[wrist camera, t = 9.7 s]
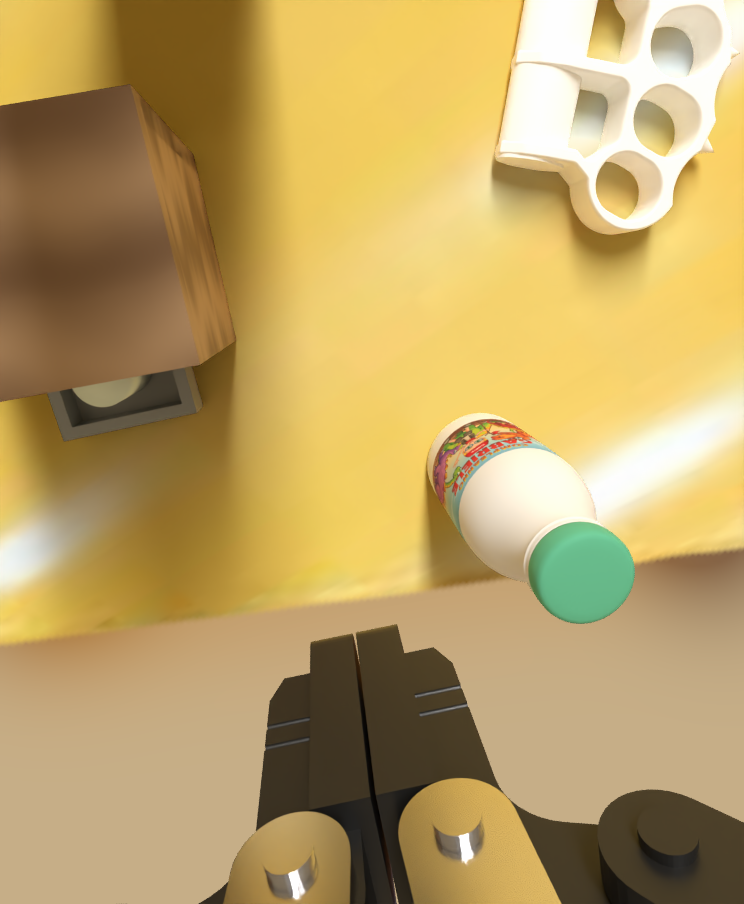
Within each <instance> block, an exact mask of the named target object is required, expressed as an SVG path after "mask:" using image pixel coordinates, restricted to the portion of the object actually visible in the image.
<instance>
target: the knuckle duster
mask: <svg viewBox="0 0 744 904" xmlns="http://www.w3.org/2000/svg"><path fill="white" fill-rule="evenodd" d="M597 3H598V0H524V6H523V11H522V17H521V22H520V28H519V33H518V39H517V44H516V49H515V55H514V57H513V58H512V62H511V67H510V68H511V69H512V71H511V77H510V82H509V88H508V93H507V99H506V104H505V110H504V115H503V121H502V126H501V132H500V137H499V143H498V145H497V146H496V150H495V156H496V161H498V162H501V163H503V164H506V165H510V166H515V167H521V168H526V169H531V170H537V171H550V172H558V173H559V174H560V175H561V176H562V178H563V179H564V180H565V181H566V182H567V184H568V185H569V187H570V199H571V203H572V206H573V209H574V211H575V213H576V215H577V216H578V218H579V219H580V221H581V222H582V223H583V224H584V225H585V226H587V227H588V228H590V229H591V230H593V231H595V232H598V233H601V234H607V235H614V234H621V233H626V232H632V231H638V230H642V229H645V228H647V227H649V226H651V225H653V224H655V223H656V222H658V221H659V220H660V219H661V218H663V217H664V216H665V215H666V213H667V212H668V211H669V210H670V209H671V207H672V206H673V191H674V186H675V183H676V180H677V178H678V176H679V174H680V172H681V170H682V169H683V167H684V166H685V165H686V163H687V162H688V161H689V160H690V159H691V158H692V157H694V156H695V155H696V154H698V153H713V152H714V151H713V149H712V147H711V145H710V143H709V140H708V136H709V134H710V132H711V130H712V128H713V126H714V124H715V122H716V119H715V112H714V102H715V95H716V90H717V87H718V84H719V82H720V79H721V77H722V76H723V74H724V72H725V71H726V69H727V68H728V67H729V66H730V64H731V59H732V58H733V57H735V56H736V55H738V54H740V53H739V52H738V51H736V50H735V49H733V48H732V47H731V40H732V27H731V26H730V24H729V22H728V19H727V16H726V13H725V8H724V0H614V3H615V6H616V8H617V10H618V12H619V14H620V15H621V16H622V18H623V19H624V21H625V31H624V36H623V41H622V45H621V50H620V54H619V59H618V64H617V63H612V62H608V61H603V60H598V59H593V58H588V57H586V56H587V51H588V46H589V41H590V37H591V32H592V27H593V22H594V17H595V12H596V7H597ZM662 27H675V28H678V29H680V30H682V31H683V32H684V33H685V34H686V35H687V36H688V38H689V39H690V41H691V44H692V47H693V64H692V67H691V70H690V72H689V74H688V76H687V77H683V78H671V77H668V76H666V75H664V74H663V73H661V72H660V71H659V70H658V68H657V67H656V65H655V64H654V61H653V59H652V55H651V38H652V35H653V32H654V29H655V28H662ZM580 89H582V90H587V91H592V92H597V93H601V94H603V95H604V96H605V98H606V99H607V102H608V109H607V114H606V119H605V123H604V128H603V132H602V137H601V142H600V146H599V149H598V150H597V151H596V152H595V153H594V154H592V155H590V156H588V157H587V158H583V157H582V156H581V154H580V153H579V152H578V151H577V150H576V149H571V148H568V143H569V138H570V133H571V128H572V124H573V119H574V114H575V109H576V104H577V99H578V95H579V90H580ZM640 100H648V101H650V102H653V103H654V104H656V105H657V106H659V107H661V108H662V109H664V110H665V111H666V112H667V113H668V114H669V115H670V117H671V118H672V121H673V124H674V129H675V136H674V141H673V145H672V147H671V149H670V151H669V152H668V154H667V155H666V156H665V157H662V156H659V155H657V154H655V153H654V152H652V151H650V150H649V149H647V148H646V147H644V146H643V145H642V144H641V143H640V142H639V140H638V139H637V137H636V134H635V131H634V125H633V119H634V113H635V109H636V107H637V105H638V103H639V101H640ZM605 162H613V163H615V164H617V165H619V166H621V167H622V168H624V169H626V170H628V171H629V172H630V173H631V174H632V175H633V176H634V177H635V179H636V181H637V184H638V188H639V198H638V202H637V205H636V208H635V209H634V211H633V212H632V214H631V215H630V216H629V217H628V218H627V219H625V220H624V219H621V218H619V217H617V216H615V215H613V214H612V213H610V212H608V211H607V210H605V209H604V208H603V207H602V205H601V204H600V202H599V200H598V198H597V195H596V178H597V175H598V172H599V170H600V168H601V167H602V165H603V164H604V163H605Z"/></svg>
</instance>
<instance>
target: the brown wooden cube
mask: <svg viewBox="0 0 744 904" xmlns="http://www.w3.org/2000/svg"><path fill="white" fill-rule="evenodd" d="M235 341H236V337H235V333H234V329H233V324H232V320H231V316H230V311H229V307H228V303H227V298H226V294H225V290H224V285H223V281H222V277H221V272H220V268H219V264H218V259H217V255H216V251H215V246H214V242H213V238H212V234H211V229H210V225H209V221H208V216H207V212H206V208H205V203H204V199H203V195H202V190H201V186H200V182H199V177H198V173H197V169H196V164H195V160H194V156H193V154H192V153H191V151H190V150H189V149H188V148H187V147H186V146H185V145H184V144H183V142H182V141H181V140H180V139H179V138H178V137H177V136H176V135H175V134H174V132H173V131H172V130H171V129H170V128H169V127H168V126H167V125H166V124H165V122H164V121H163V120H162V119H161V118H160V117H159V116H158V115H157V114H156V112H155V111H154V110H153V109H152V108H151V107H150V106H149V105H148V103H147V102H146V101H145V100H144V99H143V98H142V97H141V96H140V95H139V93H138V92H137V91H136V90H135V89H134V88H133V87H132V86H131V85H130V84H129V85H123V86H117V87H111V88H105V89H99V90H93V91H87V92H81V93H75V94H69V95H63V96H57V97H51V98H44V99H38V100H32V101H26V102H20V103H14V104H8V105H2V106H0V402H2V401H7V400H13V399H18V398H23V397H29V396H34V395H40V394H45V393H50V392H56V391H61V390H67V389H72V388H77V387H83V386H88V385H93V384H99V383H104V382H110V381H115V380H120V379H126V378H131V377H137V376H142V375H147V374H153V373H158V372H164V371H169V370H174V369H180V368H185V367H190V366H196V365H201V364H202V363H204V362H205V361H206V360H208V359H209V358H211V357H212V356H214V355H215V354H217V353H218V352H220V351H221V350H223V349H224V348H226V347H227V346H229V345H230V344H232V343H233V342H235Z"/></svg>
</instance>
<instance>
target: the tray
mask: <svg viewBox="0 0 744 904" xmlns="http://www.w3.org/2000/svg"><path fill="white" fill-rule="evenodd" d="M47 394H48V397H49V400H50V403H51V406H52V409H53V412H54V414H55V417H56V420H57V423H58V426H59V429H60V432H61V434H62V437H63V440H64V441H69V440H73V439H78V438H83V437H87V436H92V435H97V434H101V433H106V432H110V431H115V430H120V429H124V428H129V427H134V426H138V425H143V424H147V423H152V422H157V421H161V420H166V419H171V418H175V417H180V416H185V415H189V414H194V413H197V412H198V411H199V410H200V409H201V408H202V407H203V403H202V400H201V396H200V393H199V389H198V386H197V382H196V379H195V375H194V371H193V368H192V366H190V367H185V368H180V369H174V370H169V371H164V372H158V373H153V374H151V376H150V379H149V381H148V383H147V384H146V386H145V387H144V388H143V389H141V390H140V391H138V392H136V393H135V394H133V395H131V396H129V397H128V398H126V399H124V400H122V401H121V402H119V403H117V404H115V405H113V406H109V407H96V406H92V405H90V404H87V403H86V402H84V401H82V400H81V399H80V398H79V397H78V396H77V395H76V394H75V392H74V391H73V389H67V390H61V391H56V392H50V393H47Z"/></svg>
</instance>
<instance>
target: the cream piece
mask: <svg viewBox="0 0 744 904" xmlns="http://www.w3.org/2000/svg"><path fill="white" fill-rule="evenodd" d="M150 376H151V374H147V375H142V376H137V377H131V378H126V379H120V380H115V381H110V382H104V383H99V384H93V385H88V386H83V387H77V388H72V389H73V391H74V392H75V394H76V395H77V396H78V397H79V398H80V399H81V400H82V401H84V402H86V403H87V404H90V405H92V406H96V407H109V406H113V405H115V404H117V403H119V402H121V401H122V400H124V399H126V398H128V397H129V396H131V395H133V394H135V393H136V392H138V391H140V390H141V389H143V388H144V387H145V386H146V384H147V383H148V381H149V379H150Z"/></svg>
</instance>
